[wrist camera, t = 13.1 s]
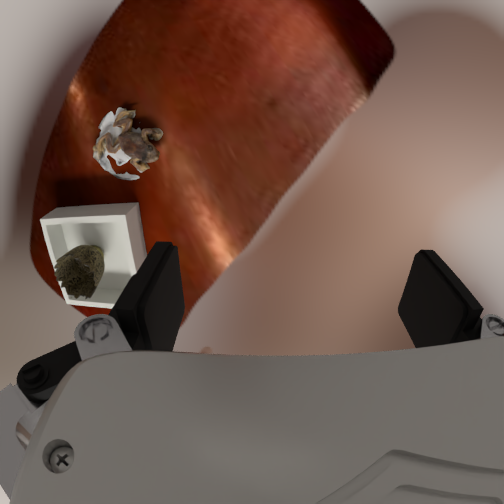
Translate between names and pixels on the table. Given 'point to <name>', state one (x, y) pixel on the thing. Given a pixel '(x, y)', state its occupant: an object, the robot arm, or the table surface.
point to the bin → (99, 244)
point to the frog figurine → (125, 143)
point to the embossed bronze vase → (81, 270)
